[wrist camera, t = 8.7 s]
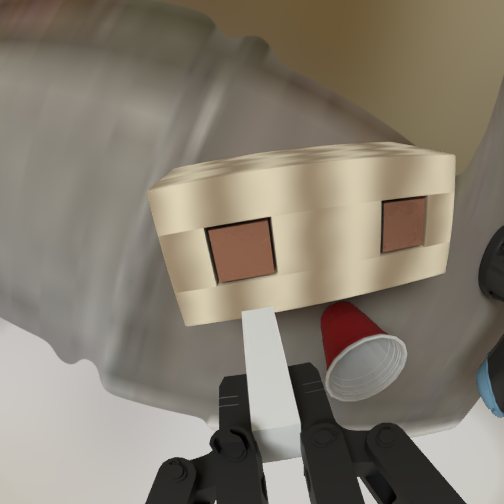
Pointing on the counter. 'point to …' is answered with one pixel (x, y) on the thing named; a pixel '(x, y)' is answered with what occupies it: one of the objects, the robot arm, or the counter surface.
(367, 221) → the collar block
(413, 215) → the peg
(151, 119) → the counter surface
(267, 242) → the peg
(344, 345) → the plastic cup
